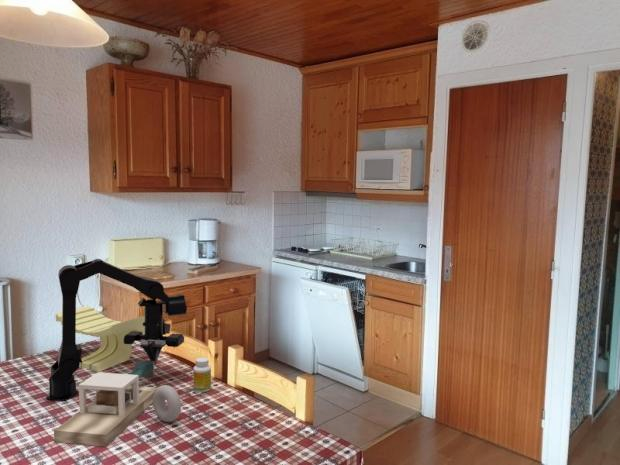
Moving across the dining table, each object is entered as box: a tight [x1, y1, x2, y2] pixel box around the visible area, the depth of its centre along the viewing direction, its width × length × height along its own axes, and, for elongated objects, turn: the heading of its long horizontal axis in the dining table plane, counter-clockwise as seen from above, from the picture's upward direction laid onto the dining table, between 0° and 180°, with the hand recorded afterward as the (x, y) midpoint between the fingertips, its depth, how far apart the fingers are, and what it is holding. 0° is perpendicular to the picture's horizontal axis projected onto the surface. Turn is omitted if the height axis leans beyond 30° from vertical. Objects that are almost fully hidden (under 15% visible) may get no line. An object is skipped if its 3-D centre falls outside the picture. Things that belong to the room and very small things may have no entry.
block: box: [95, 390, 118, 405], centre depth 136 cm, size 5×5×5 cm
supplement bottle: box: [193, 357, 212, 393], centre depth 156 cm, size 5×5×10 cm
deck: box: [53, 385, 158, 448], centre depth 136 cm, size 14×29×3 cm, turn 172°
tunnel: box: [78, 371, 140, 417], centre depth 135 cm, size 12×9×8 cm
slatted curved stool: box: [55, 305, 145, 372], centre depth 179 cm, size 30×16×18 cm, turn 63°
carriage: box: [87, 359, 156, 414], centre depth 144 cm, size 8×25×6 cm, turn 172°
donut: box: [152, 384, 182, 423], centre depth 134 cm, size 10×4×10 cm, turn 55°
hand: (154, 364), depth 163 cm, fingers closed
